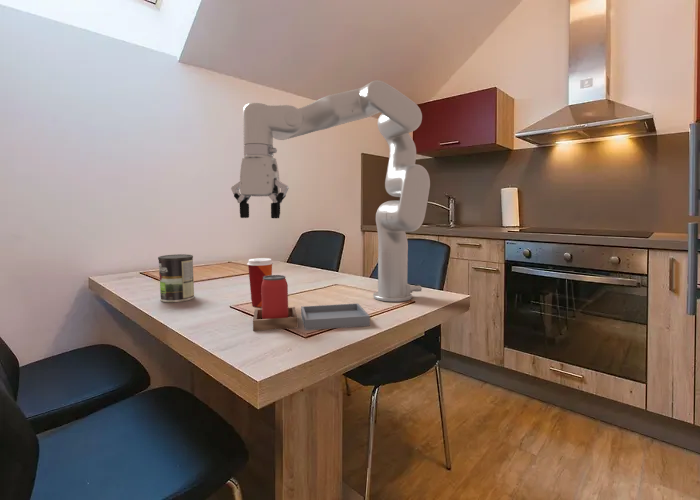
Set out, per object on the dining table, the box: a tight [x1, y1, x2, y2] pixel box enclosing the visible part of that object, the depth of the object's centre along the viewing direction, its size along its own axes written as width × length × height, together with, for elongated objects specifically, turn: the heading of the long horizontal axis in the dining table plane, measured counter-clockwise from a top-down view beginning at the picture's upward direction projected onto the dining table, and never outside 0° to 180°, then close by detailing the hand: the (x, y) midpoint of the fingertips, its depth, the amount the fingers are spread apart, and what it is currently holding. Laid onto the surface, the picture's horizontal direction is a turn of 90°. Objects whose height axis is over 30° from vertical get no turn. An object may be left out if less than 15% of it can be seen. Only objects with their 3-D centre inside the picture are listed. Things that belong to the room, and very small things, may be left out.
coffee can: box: [157, 253, 195, 303], centre depth 122 cm, size 10×10×14 cm
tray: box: [300, 303, 371, 331], centre depth 98 cm, size 16×13×2 cm
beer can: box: [261, 274, 289, 319], centre depth 96 cm, size 7×7×12 cm
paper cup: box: [246, 257, 274, 308], centre depth 114 cm, size 8×8×14 cm
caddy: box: [252, 306, 299, 332], centre depth 96 cm, size 11×11×2 cm
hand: (259, 218), depth 101 cm, fingers open, 9 cm apart
